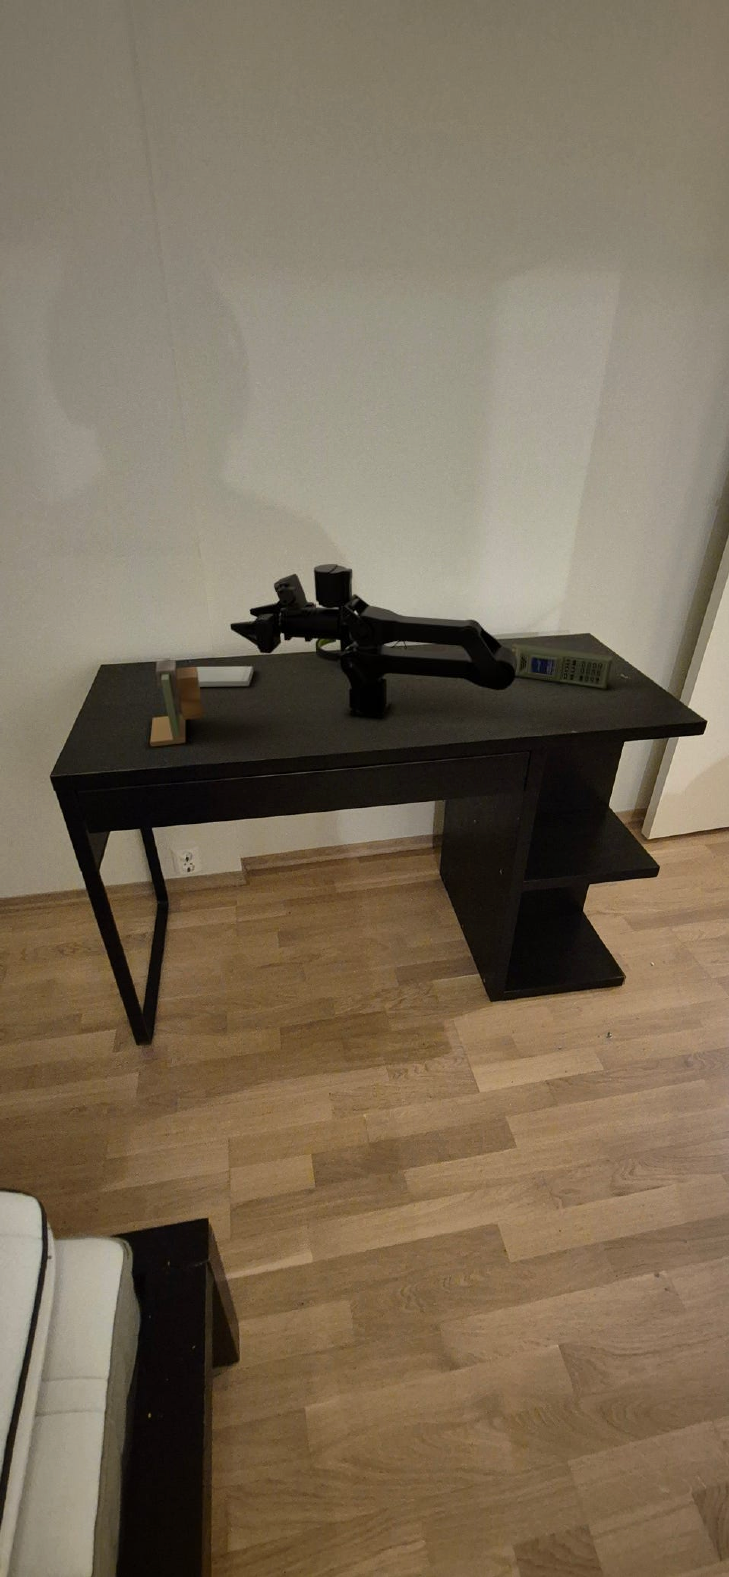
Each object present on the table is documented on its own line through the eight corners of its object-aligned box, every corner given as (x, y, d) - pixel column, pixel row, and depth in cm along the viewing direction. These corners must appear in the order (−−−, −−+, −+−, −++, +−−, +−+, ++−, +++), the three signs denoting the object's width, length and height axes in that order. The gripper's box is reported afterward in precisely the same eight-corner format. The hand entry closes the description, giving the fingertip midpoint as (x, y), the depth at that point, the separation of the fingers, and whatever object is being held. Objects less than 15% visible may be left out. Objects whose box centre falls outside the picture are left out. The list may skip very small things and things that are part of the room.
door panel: (185, 719, 127) (174, 657, 121) (185, 743, 119) (173, 678, 112) (153, 722, 126) (141, 660, 120) (151, 746, 118) (137, 682, 111)
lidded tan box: (202, 706, 124) (195, 657, 119) (203, 717, 120) (195, 668, 115) (165, 709, 123) (157, 661, 118) (165, 721, 119) (155, 671, 114)
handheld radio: (605, 690, 136) (486, 673, 144) (607, 685, 139) (490, 669, 147) (612, 659, 133) (489, 644, 141) (613, 654, 135) (493, 639, 143)
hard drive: (188, 680, 139) (247, 679, 139) (196, 666, 146) (252, 665, 146) (190, 688, 140) (248, 687, 140) (198, 673, 147) (253, 672, 147)
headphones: (408, 629, 141) (314, 633, 139) (406, 672, 146) (316, 675, 145) (399, 607, 154) (313, 610, 153) (398, 646, 159) (315, 649, 158)
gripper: (330, 566, 126) (254, 563, 130) (297, 594, 111) (213, 590, 114) (333, 623, 132) (261, 619, 135) (303, 656, 117) (222, 651, 120)
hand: (240, 618), depth 126 cm, fingers open, 9 cm apart
